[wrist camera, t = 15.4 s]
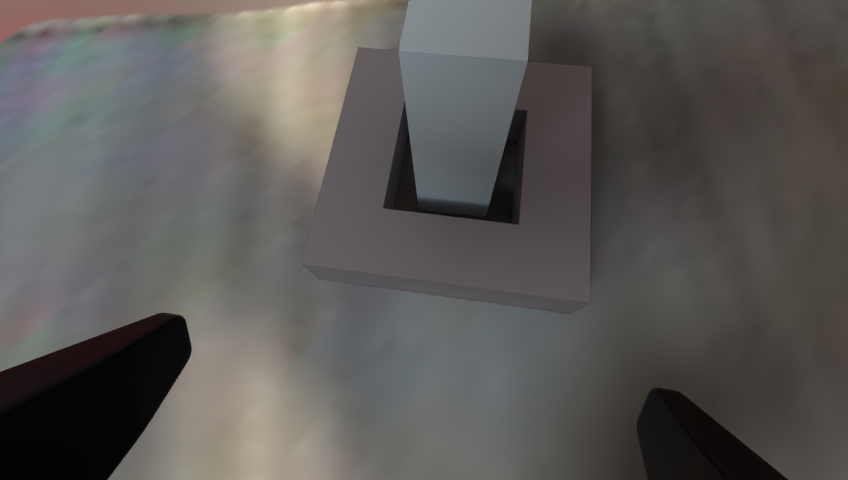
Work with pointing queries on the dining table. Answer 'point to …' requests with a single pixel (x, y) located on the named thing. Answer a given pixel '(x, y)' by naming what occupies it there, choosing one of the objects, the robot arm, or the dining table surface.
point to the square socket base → (452, 236)
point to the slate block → (461, 95)
